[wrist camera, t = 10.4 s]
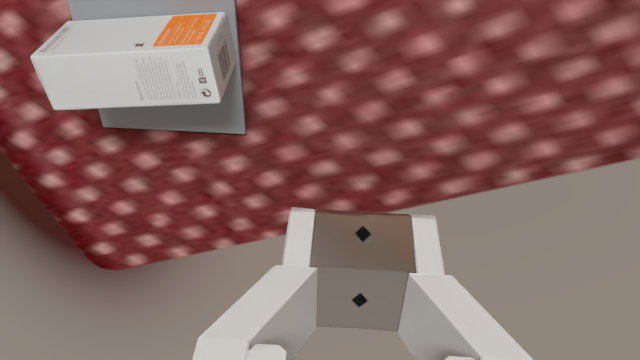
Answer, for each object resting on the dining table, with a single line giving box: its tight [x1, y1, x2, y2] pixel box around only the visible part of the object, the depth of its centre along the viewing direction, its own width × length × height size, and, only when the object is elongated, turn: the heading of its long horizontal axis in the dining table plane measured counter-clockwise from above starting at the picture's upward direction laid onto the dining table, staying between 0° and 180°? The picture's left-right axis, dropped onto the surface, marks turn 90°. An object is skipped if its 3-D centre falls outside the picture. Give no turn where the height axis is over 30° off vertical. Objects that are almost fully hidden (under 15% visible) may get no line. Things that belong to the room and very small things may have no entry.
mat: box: [67, 0, 246, 134], centre depth 41 cm, size 12×14×1 cm
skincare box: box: [31, 12, 236, 110], centre depth 38 cm, size 6×4×12 cm
